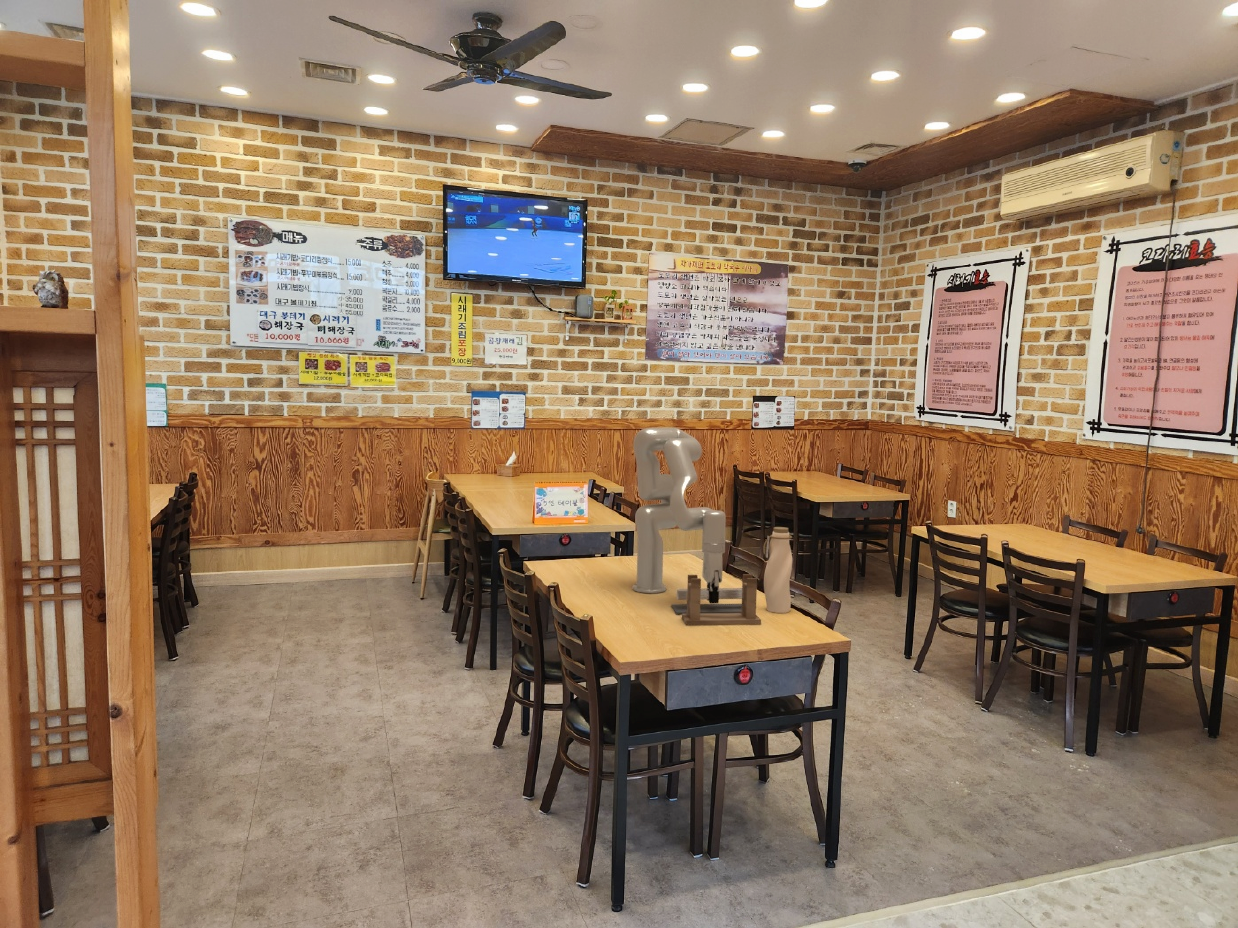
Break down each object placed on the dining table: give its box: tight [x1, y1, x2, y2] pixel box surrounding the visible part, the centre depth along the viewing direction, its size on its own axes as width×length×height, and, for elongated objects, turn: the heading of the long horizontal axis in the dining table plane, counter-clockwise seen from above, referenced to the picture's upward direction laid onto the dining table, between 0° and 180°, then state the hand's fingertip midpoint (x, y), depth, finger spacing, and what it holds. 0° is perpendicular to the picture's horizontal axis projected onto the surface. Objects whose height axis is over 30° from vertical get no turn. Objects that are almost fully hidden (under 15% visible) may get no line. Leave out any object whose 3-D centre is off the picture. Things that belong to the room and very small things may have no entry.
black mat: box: [670, 603, 742, 616], centre depth 266 cm, size 10×26×1 cm, turn 96°
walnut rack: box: [681, 573, 762, 626], centre depth 252 cm, size 8×24×14 cm, turn 96°
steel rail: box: [676, 587, 742, 601], centre depth 265 cm, size 3×24×3 cm, turn 96°
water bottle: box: [762, 526, 793, 614], centre depth 266 cm, size 10×9×28 cm
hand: (712, 601), depth 265 cm, fingers closed on steel rail, 3 cm apart
